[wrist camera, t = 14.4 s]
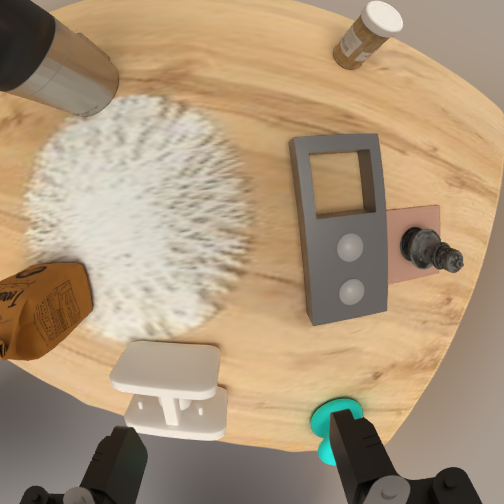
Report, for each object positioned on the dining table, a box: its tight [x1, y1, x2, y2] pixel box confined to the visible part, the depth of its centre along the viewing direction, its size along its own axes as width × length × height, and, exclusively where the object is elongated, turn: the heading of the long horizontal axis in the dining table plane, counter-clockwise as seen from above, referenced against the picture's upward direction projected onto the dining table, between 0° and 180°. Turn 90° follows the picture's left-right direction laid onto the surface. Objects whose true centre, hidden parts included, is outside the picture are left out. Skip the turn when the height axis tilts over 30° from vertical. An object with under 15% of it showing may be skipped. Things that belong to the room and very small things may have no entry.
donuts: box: [311, 399, 363, 465], centre depth 42 cm, size 10×10×10 cm
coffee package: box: [0, 263, 93, 361], centre depth 29 cm, size 10×12×22 cm
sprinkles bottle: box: [334, 1, 403, 69], centre depth 26 cm, size 5×5×14 cm
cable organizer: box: [109, 341, 228, 441], centre depth 37 cm, size 15×11×12 cm
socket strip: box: [289, 134, 388, 326], centre depth 36 cm, size 24×11×4 cm, turn 8°
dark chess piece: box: [400, 227, 464, 273], centre depth 33 cm, size 6×6×12 cm
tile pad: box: [386, 205, 440, 284], centre depth 39 cm, size 11×11×1 cm
